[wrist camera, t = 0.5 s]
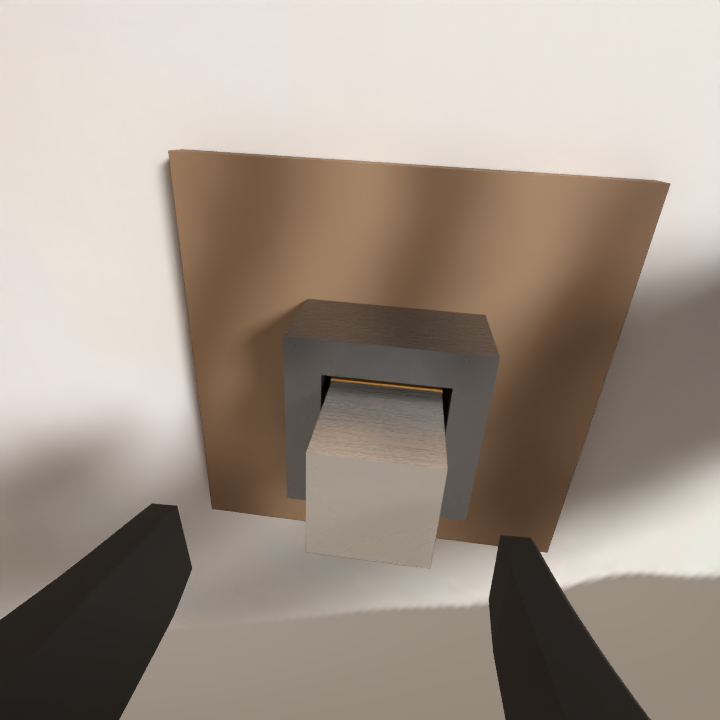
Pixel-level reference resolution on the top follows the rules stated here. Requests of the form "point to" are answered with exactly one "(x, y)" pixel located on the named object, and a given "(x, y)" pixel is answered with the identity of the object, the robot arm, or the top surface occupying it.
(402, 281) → the base plate
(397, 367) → the sleeve
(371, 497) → the post
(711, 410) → the top surface
